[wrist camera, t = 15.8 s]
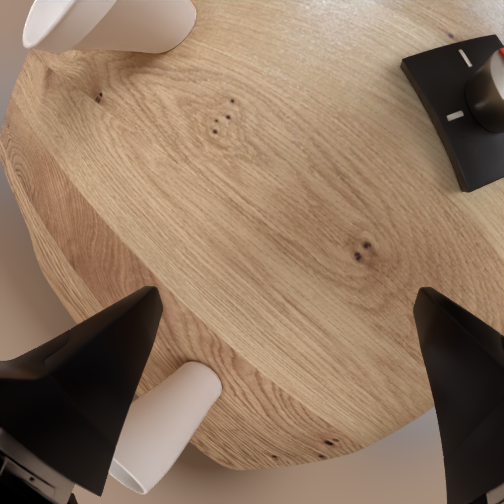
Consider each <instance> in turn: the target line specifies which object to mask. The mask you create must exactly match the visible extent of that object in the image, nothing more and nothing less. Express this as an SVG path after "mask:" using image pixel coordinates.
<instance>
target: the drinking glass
mask: <svg viewBox="0 0 504 504" xmlns="http://www.w3.org/2000/svg"><path fill="white" fill-rule="evenodd" d="M221 392H222V385H221V382H220V379H219V378H218V376H217V375H216V373H215V372H214V371H213V370H212V369H210V368H209V367H208V366H206V365H204V364H202V363H199V362H194V361H191V362H186V363H184V364H183V365H181V366H180V367H179V368H178V369H177V370H176V371H175V372H174V373H172V374H171V375H170V376H168V377H167V378H166V379H164V380H163V381H162V382H160V383H159V384H157V385H156V386H155V387H153V388H152V389H150V390H149V391H148V392H146V393H145V394H143V395H142V396H141V397H139V398H138V399H136V400H135V401H133V402H132V403H131V405H130V408H129V411H128V414H127V416H126V419H125V422H124V425H123V428H122V431H121V434H120V437H119V440H118V443H117V446H115V447H116V450H115V453H114V456H113V459H112V462H111V465H110V469H109V472H108V473H109V474H110V475H111V476H112V477H114V478H115V479H116V480H118V481H119V482H120V483H122V484H123V485H124V486H126V487H128V488H129V489H131V490H132V491H135V492H137V493H139V494H147V493H148V492H149V491H150V490H151V489H152V488H153V487H154V486H155V485H156V484H157V483H158V482H159V481H160V479H162V478H163V476H164V475H165V474H166V473H167V472H168V471H169V469H170V468H171V467H172V465H173V464H174V463H175V461H176V460H177V459H178V457H179V456H180V454H181V453H182V451H183V450H184V448H185V447H186V445H187V444H188V442H189V441H190V439H191V438H192V436H193V435H194V433H195V432H196V430H197V428H198V427H199V425H200V424H201V422H202V421H203V419H204V418H205V416H206V415H207V413H208V412H209V410H210V409H211V407H212V406H213V404H214V403H215V402H216V400H217V399H218V398H219V396H220V395H221Z"/></svg>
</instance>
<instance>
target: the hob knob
mask: <svg viewBox="0 0 504 504" xmlns="http://www.w3.org/2000/svg"><path fill="white" fill-rule="evenodd" d="M465 96H466V101H467V104H468V107H469V109H470V111H471V113H472V115H473V116H474V118H475V119H476V120H477V121H478V122H479V123H480V124H481V125H482V126H483V127H484V128H486V129H487V130H489V131H491V132H494V133H504V48H500V49H499V50H497V51H495V52H494V53H493V54H492V56H491V57H490V58H489V59H488V60H487V61H486V62H485V63H484V64H483V65H482V66H481V67H480V68H479V69H478V71H477V72H476V73H475V74H474V75H473V76H472V77H471V78H470V79H469V80H468V82H467V84H466V89H465Z"/></svg>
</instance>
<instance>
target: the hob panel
mask: <svg viewBox="0 0 504 504" xmlns="http://www.w3.org/2000/svg"><path fill="white" fill-rule="evenodd" d="M500 48H504V46H503V44H502V43H501V41H500V40H499V38H498V37H497V36H496V35H489V36H484V37H479V38H474V39H470V40H466V41H461V42H457V43H454V44H450V45H446V46H442V47H439V48H435V49H432V50H429V51H425V52H422V53H419V54H416V55H413V56H410V57H407V58H404V59H402V62H401V68H402V70H403V71H404V73H405V75H406V76H407V78H408V79H409V81H410V83H411V84H412V86H413V87H414V89H415V91H416V93H417V94H418V96H419V98H420V99H421V101H422V103H423V105H424V107H425V109H426V110H427V112H428V114H429V116H430V118H431V120H432V122H433V124H434V126H435V128H436V130H437V132H438V134H439V136H440V138H441V141H442V143H443V145H444V147H445V149H446V152H447V154H448V156H449V159H450V161H451V164H452V166H453V169H454V171H455V174H456V177H457V179H458V182H459V185H460V188H461V190H462V192H471V191H474V190H476V189H478V188H481V187H483V186H485V185H487V184H490V183H492V182H494V181H496V180H499V179H501V178H503V177H504V133H494V132H491V131H489V130H487V129H486V128H484V127H483V126H482V125H481V124H480V123H479V122H478V121H477V120H476V119H475V118H474V116H473V115H472V113H471V111H470V109H469V107H468V104H467V101H466V96H465V89H466V84H467V82H468V80H469V79H470V78H471V77H472V76H473V75H474V74H475V73H476V72H477V71H478V69H479V68H480V67H481V66H482V65H483V64H484V63H485V62H486V61H487V60H488V59H489V58H490V57H491V56H492V54H493V53H494V52H495V51H497V50H499V49H500Z"/></svg>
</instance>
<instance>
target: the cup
mask: <svg viewBox="0 0 504 504" xmlns="http://www.w3.org/2000/svg"><path fill="white" fill-rule="evenodd" d="M196 15H197V13H196V8H195V7H194V5H193V4H192V3H191V1H190V0H35V1H34V3H33V5H32V7H31V10H30V12H29V15H28V17H27V20H26V23H25V27H24V31H23V44H24V47H25V48H27V49H33V48H35V49H39V50H43V51H47V52H50V53H54V54H61V53H63V52H66V51H68V50H117V51H133V52H144V53H154V54H158V53H164V52H167V51H169V50H171V49H172V48H174V47H176V46H177V45H178V44H180V43H181V42H182V41H183V40H184V39H185V38H186V37H187V35H188V34H189V33H190V31H191V30H192V28H193V26H194V24H195V21H196Z"/></svg>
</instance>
